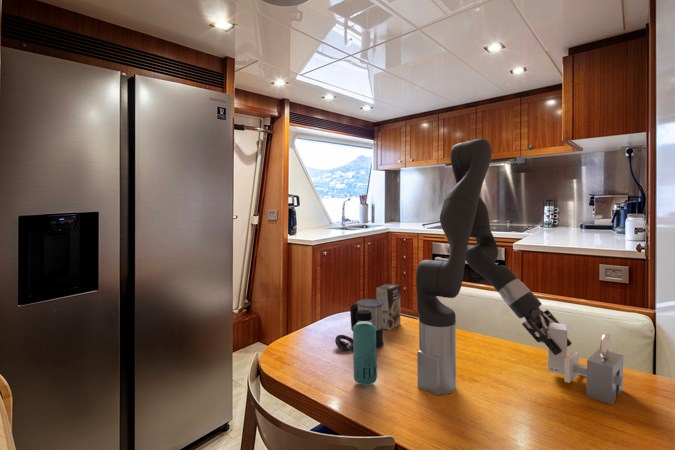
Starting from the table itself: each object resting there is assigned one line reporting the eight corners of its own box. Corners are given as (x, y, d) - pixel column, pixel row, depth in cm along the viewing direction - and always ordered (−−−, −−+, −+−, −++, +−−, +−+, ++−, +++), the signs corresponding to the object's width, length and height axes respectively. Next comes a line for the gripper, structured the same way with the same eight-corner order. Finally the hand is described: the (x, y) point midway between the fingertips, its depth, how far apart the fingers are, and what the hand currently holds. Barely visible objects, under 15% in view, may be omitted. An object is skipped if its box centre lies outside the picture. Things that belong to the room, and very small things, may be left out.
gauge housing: (611, 404, 81) (613, 342, 80) (542, 380, 92) (542, 325, 92) (625, 385, 89) (626, 328, 88) (560, 365, 101) (560, 315, 100)
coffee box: (390, 330, 132) (390, 289, 131) (376, 327, 136) (375, 287, 135) (401, 324, 139) (400, 284, 139) (387, 321, 143) (386, 283, 143)
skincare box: (566, 375, 90) (567, 330, 90) (547, 371, 93) (548, 328, 92) (565, 366, 95) (566, 324, 95) (547, 362, 98) (548, 321, 97)
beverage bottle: (361, 393, 88) (360, 316, 87) (348, 382, 94) (347, 309, 93) (382, 386, 91) (381, 312, 90) (368, 376, 97) (367, 306, 96)
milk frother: (388, 342, 121) (388, 300, 120) (367, 359, 108) (367, 312, 107) (353, 335, 129) (352, 295, 128) (330, 349, 115) (329, 306, 115)
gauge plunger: (618, 401, 81) (619, 374, 81) (564, 383, 90) (564, 358, 89) (629, 384, 88) (630, 360, 88) (578, 369, 97) (578, 347, 96)
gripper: (518, 295, 94) (566, 350, 86) (538, 286, 103) (584, 336, 95) (498, 309, 99) (542, 363, 90) (520, 300, 108) (562, 348, 99)
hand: (563, 349), depth 93 cm, fingers closed on skincare box, 7 cm apart
